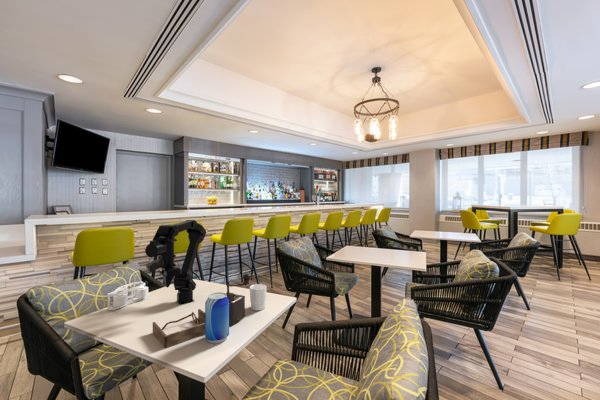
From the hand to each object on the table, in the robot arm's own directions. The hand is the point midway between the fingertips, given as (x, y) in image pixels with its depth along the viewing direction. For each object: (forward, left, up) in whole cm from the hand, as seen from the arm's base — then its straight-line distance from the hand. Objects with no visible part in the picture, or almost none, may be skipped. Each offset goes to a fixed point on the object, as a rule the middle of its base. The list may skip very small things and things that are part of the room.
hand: (167, 287), depth 123 cm
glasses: (+1, +22, -12) cm, 25 cm away
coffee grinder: (-19, +25, -12) cm, 33 cm away
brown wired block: (+1, +23, -12) cm, 26 cm away
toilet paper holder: (+10, -27, -12) cm, 31 cm away
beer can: (-6, +37, -12) cm, 39 cm away
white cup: (-33, +24, -12) cm, 42 cm away
